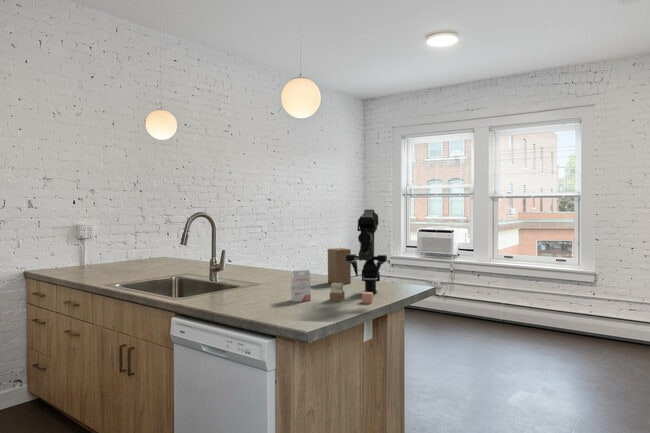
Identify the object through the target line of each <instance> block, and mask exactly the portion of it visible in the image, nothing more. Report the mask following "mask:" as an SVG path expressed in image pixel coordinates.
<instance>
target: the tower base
mask: <svg viewBox="0 0 650 433" xmlns="http://www.w3.org/2000/svg"><path fill="white" fill-rule="evenodd" d="M345 294H346V293H345V291H344V290H343V292H342V293H331V291H330V292H329V302H340V303H342V302H344V300H346V299H345V296H346V295H345Z"/></svg>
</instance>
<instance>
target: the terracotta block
mask: <svg viewBox="0 0 650 433" xmlns="http://www.w3.org/2000/svg"><path fill="white" fill-rule="evenodd" d="M373 302H374V294H373V292H364V291H363V292H362V293H361V303H362V304H373Z"/></svg>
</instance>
